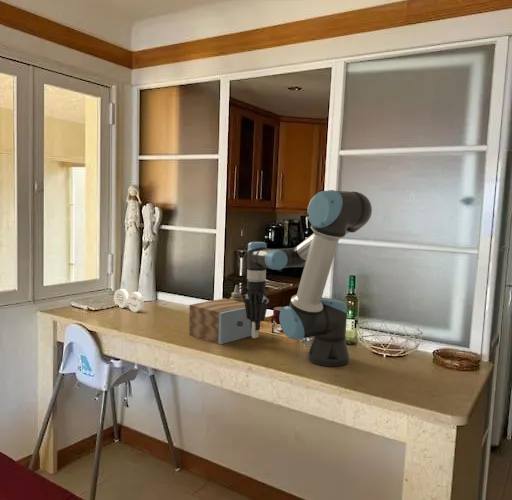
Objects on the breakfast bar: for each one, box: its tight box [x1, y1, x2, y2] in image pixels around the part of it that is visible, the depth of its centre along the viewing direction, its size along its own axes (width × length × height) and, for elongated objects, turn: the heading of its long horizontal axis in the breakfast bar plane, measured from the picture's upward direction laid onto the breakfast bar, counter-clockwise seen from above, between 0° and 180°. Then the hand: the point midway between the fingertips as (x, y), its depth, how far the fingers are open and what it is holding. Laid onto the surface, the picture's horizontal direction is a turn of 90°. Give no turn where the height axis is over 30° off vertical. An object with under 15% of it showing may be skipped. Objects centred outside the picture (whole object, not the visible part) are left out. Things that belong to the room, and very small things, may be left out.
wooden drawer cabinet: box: [188, 297, 245, 345], centre depth 208 cm, size 18×21×13 cm
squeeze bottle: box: [229, 284, 244, 303], centre depth 230 cm, size 8×8×18 cm
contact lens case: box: [113, 288, 145, 313], centre depth 250 cm, size 22×2×10 cm, turn 52°
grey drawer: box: [217, 307, 252, 345], centre depth 207 cm, size 20×21×13 cm
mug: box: [270, 306, 285, 324], centre depth 217 cm, size 11×8×10 cm
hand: (255, 337), depth 195 cm, fingers closed
